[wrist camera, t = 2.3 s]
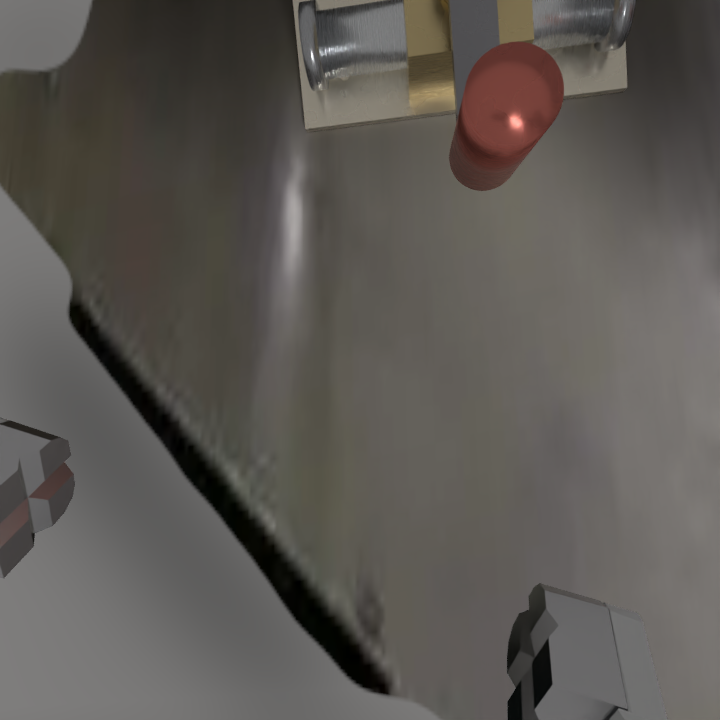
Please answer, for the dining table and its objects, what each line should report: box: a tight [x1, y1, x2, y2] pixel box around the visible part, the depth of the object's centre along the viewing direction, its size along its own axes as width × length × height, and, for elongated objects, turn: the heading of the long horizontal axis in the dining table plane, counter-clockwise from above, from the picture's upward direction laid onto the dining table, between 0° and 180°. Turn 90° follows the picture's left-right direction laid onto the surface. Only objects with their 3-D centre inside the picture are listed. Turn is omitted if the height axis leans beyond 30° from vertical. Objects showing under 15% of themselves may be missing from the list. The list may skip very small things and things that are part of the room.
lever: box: [448, 0, 564, 191], centre depth 25 cm, size 14×4×10 cm, turn 5°
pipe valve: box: [293, 0, 636, 132], centre depth 34 cm, size 22×9×9 cm, turn 95°
